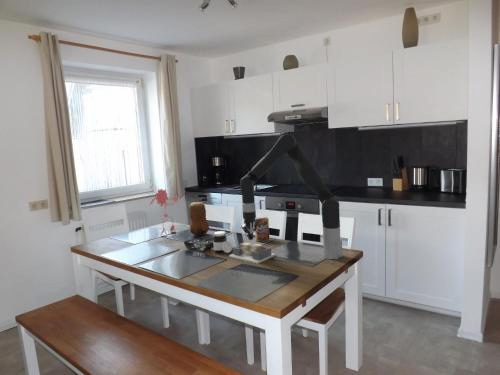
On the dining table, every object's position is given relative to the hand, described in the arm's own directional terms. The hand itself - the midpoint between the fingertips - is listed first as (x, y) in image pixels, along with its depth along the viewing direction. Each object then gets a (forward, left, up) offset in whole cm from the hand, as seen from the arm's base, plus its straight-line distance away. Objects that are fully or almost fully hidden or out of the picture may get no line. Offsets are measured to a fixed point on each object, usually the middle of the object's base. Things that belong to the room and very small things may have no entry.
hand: (250, 239), depth 206 cm
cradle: (0, 0, -10) cm, 10 cm away
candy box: (+15, -28, -10) cm, 33 cm away
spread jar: (+22, +2, -10) cm, 24 cm away
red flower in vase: (+93, -5, -10) cm, 94 cm away
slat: (0, 0, -9) cm, 9 cm away
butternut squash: (+64, -15, -10) cm, 66 cm away
